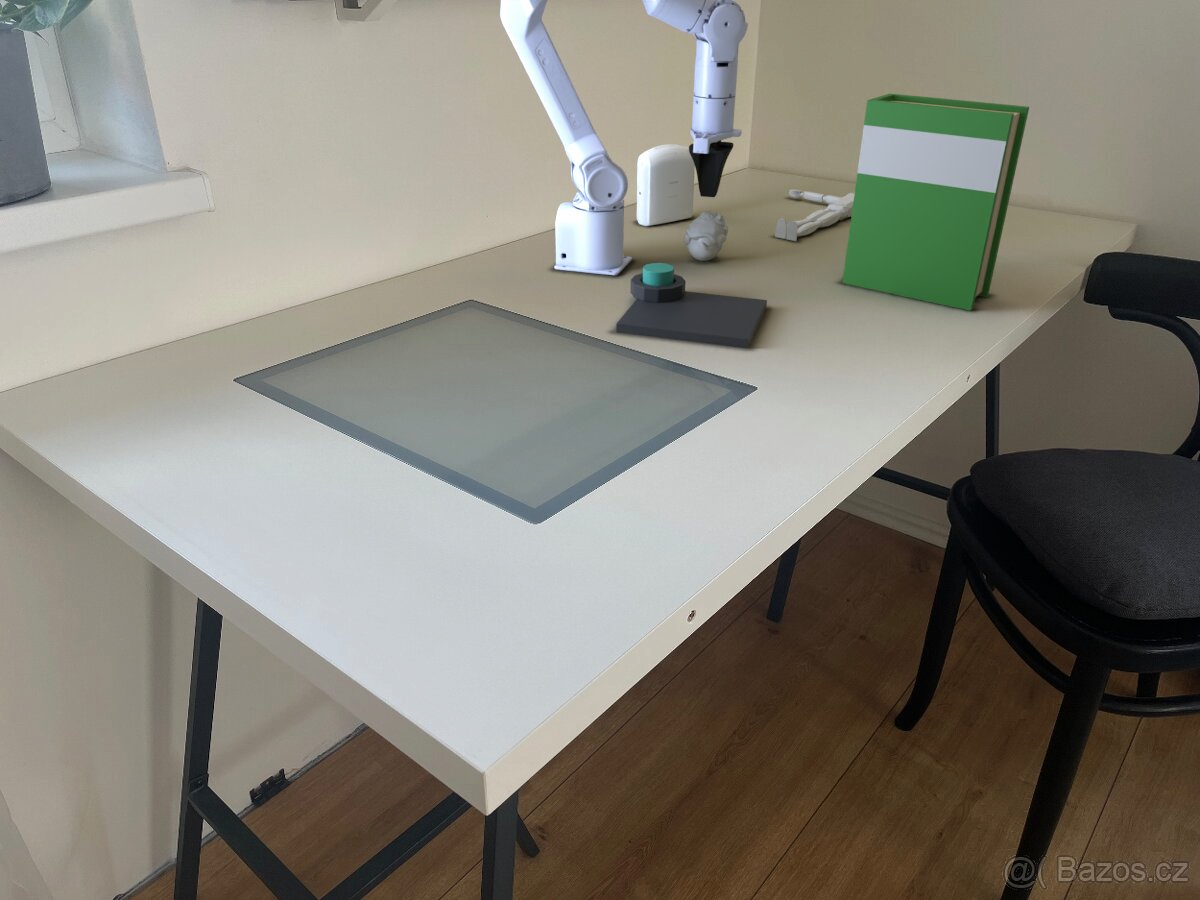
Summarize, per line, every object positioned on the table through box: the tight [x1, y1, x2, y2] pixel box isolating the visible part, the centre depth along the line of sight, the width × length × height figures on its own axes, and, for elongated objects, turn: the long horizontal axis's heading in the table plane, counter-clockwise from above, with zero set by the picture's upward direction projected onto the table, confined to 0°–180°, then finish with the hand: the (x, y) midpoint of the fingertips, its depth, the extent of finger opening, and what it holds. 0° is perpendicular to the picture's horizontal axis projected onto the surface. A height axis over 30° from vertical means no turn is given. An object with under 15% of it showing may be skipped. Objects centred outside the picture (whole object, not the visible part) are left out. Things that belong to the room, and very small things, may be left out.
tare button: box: [642, 262, 675, 286], centre depth 119 cm, size 4×4×2 cm
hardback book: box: [842, 93, 1030, 311], centre depth 120 cm, size 18×7×24 cm, turn 53°
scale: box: [615, 272, 768, 349], centre depth 116 cm, size 17×16×3 cm
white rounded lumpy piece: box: [683, 210, 729, 262], centre depth 136 cm, size 6×7×7 cm
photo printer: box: [636, 143, 696, 227], centre depth 153 cm, size 10×4×12 cm, turn 123°
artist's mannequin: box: [775, 189, 855, 242], centre depth 156 cm, size 27×4×30 cm
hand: (708, 195), depth 133 cm, fingers closed
